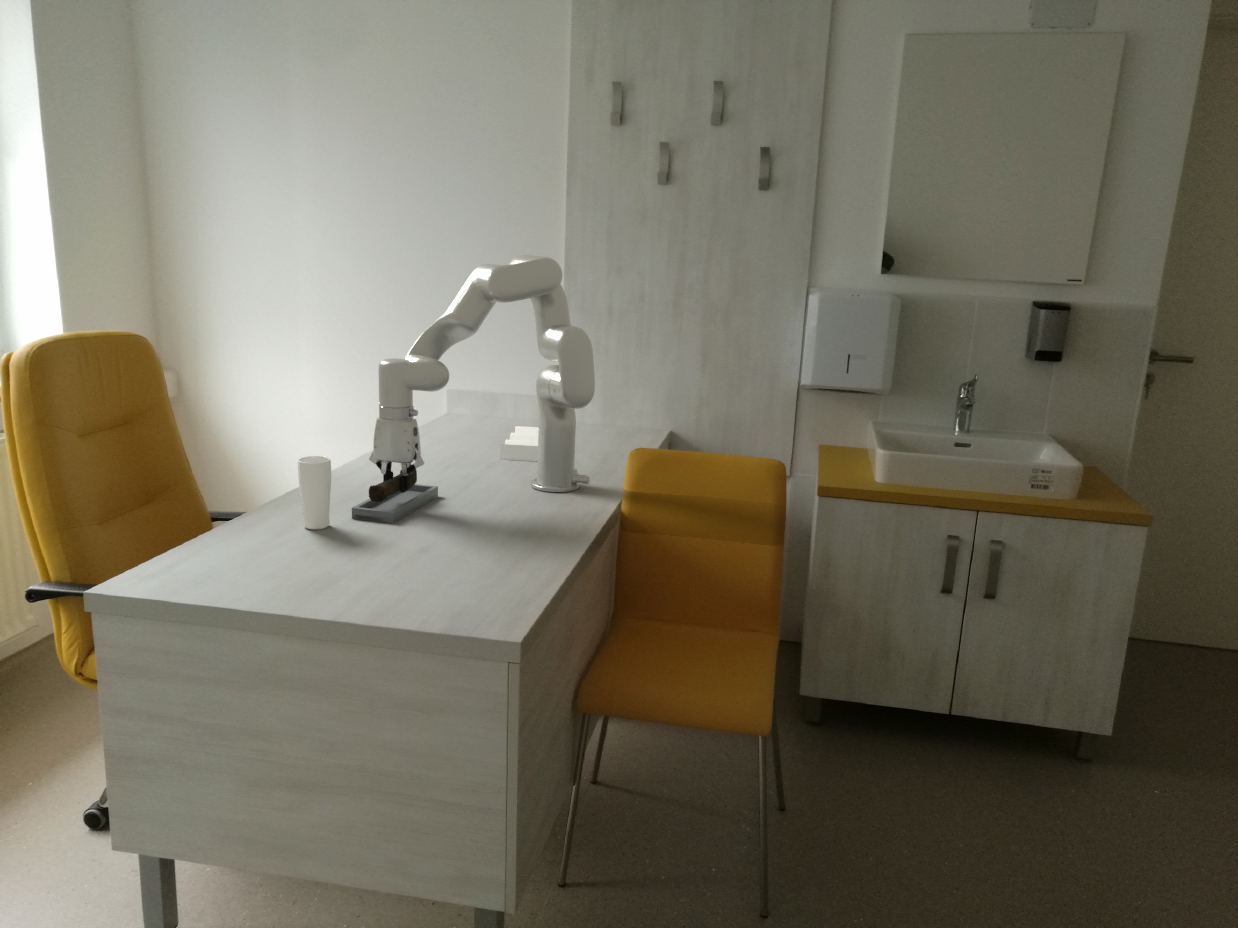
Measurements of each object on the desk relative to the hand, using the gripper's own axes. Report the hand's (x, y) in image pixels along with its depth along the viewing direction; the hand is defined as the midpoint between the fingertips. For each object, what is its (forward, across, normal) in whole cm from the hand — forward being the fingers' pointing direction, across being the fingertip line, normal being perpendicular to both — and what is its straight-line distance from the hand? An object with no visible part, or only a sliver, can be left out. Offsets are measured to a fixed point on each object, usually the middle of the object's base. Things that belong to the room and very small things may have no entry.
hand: (396, 489), depth 219 cm
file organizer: (+5, -8, -73) cm, 74 cm away
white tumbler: (+4, +9, +20) cm, 22 cm away
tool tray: (+4, 0, 0) cm, 4 cm away
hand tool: (+1, 0, 0) cm, 1 cm away
